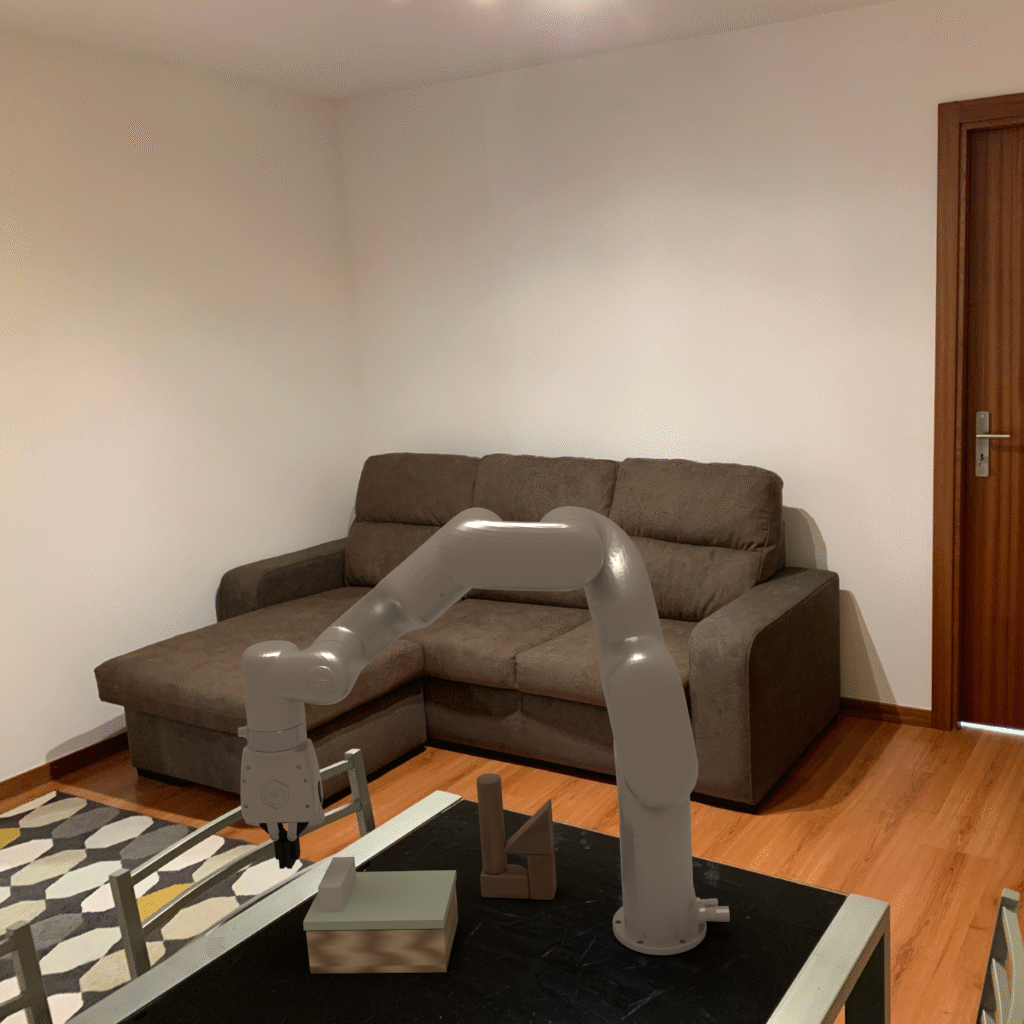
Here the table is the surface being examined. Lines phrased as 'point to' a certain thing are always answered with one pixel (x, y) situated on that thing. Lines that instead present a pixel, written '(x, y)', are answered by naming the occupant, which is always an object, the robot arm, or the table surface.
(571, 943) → the table surface
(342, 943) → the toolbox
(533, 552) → the robot arm
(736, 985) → the table surface
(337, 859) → the lid
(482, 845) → the wooden pieces
